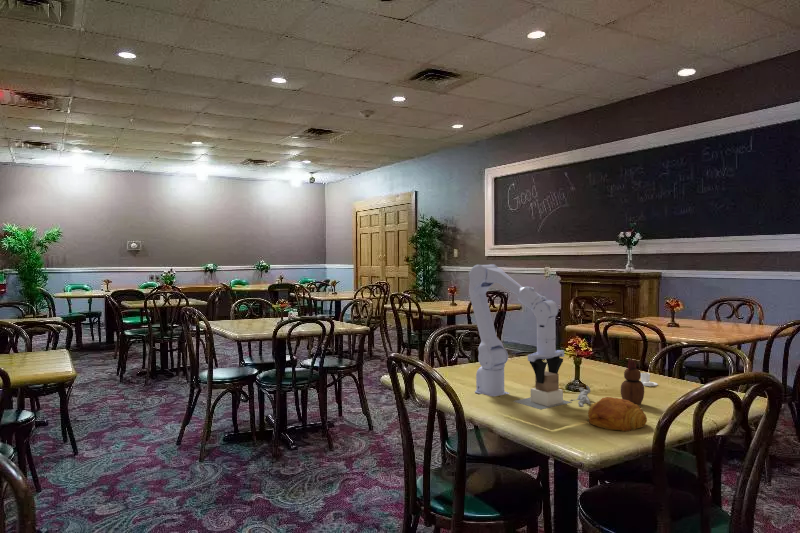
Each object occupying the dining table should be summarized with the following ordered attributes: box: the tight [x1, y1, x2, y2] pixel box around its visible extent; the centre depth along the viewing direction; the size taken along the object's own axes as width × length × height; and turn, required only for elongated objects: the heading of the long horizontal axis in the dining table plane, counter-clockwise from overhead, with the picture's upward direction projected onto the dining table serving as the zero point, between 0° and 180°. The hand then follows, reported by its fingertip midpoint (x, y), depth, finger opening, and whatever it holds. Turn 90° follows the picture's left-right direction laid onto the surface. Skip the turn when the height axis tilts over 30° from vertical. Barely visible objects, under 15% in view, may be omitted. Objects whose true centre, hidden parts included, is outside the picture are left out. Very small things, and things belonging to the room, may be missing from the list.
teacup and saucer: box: [640, 372, 659, 387], centre depth 204 cm, size 9×8×4 cm
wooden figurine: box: [620, 356, 645, 406], centre depth 177 cm, size 7×6×15 cm
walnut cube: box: [534, 370, 560, 392], centre depth 179 cm, size 5×5×5 cm
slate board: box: [512, 396, 573, 411], centre depth 179 cm, size 12×14×1 cm
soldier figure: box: [569, 385, 592, 408], centre depth 179 cm, size 8×5×12 cm
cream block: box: [530, 387, 564, 406], centre depth 179 cm, size 7×7×4 cm
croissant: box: [587, 396, 648, 432], centre depth 157 cm, size 14×16×8 cm
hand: (546, 381), depth 179 cm, fingers closed on walnut cube, 5 cm apart
